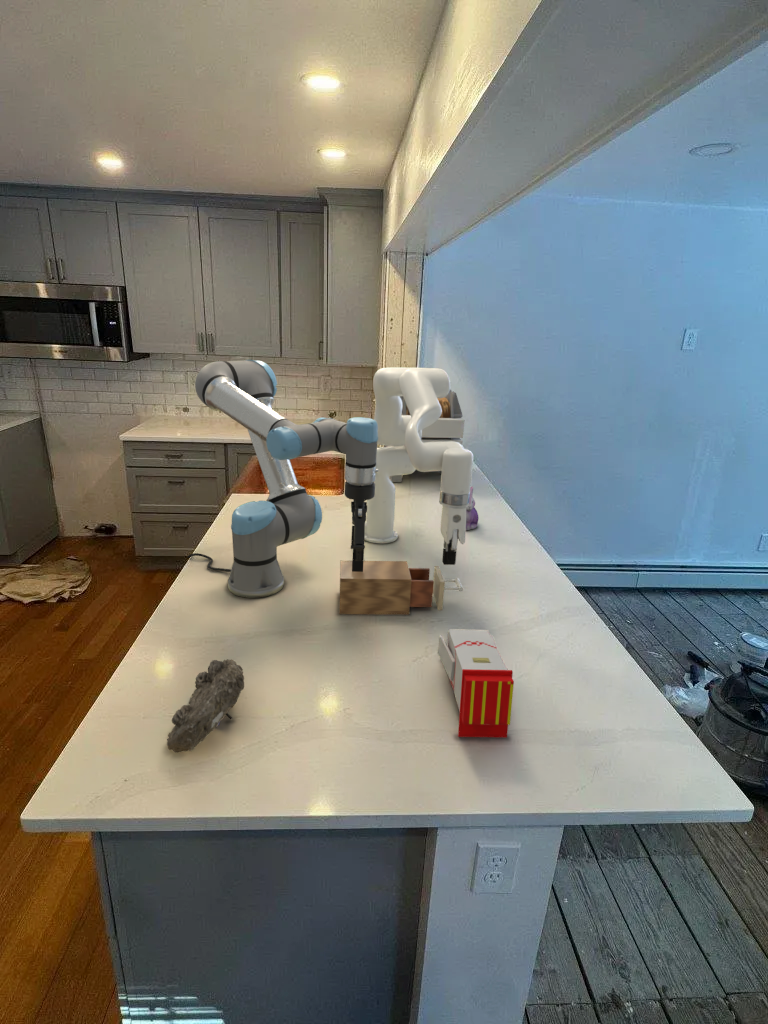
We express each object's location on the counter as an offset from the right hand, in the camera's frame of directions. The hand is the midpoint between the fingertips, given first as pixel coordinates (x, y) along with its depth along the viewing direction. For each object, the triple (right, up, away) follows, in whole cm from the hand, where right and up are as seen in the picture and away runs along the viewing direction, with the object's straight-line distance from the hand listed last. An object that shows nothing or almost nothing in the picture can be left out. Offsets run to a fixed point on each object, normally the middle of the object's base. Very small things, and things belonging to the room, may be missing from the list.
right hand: (448, 563), depth 149 cm
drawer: (-8, -10, +3) cm, 13 cm away
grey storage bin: (0, +32, +126) cm, 130 cm away
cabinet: (-20, -11, +3) cm, 23 cm away
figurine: (+14, +8, +60) cm, 62 cm away
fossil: (-50, -26, -41) cm, 70 cm away
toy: (+1, -24, -31) cm, 39 cm away
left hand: (-24, +1, -2) cm, 24 cm away
